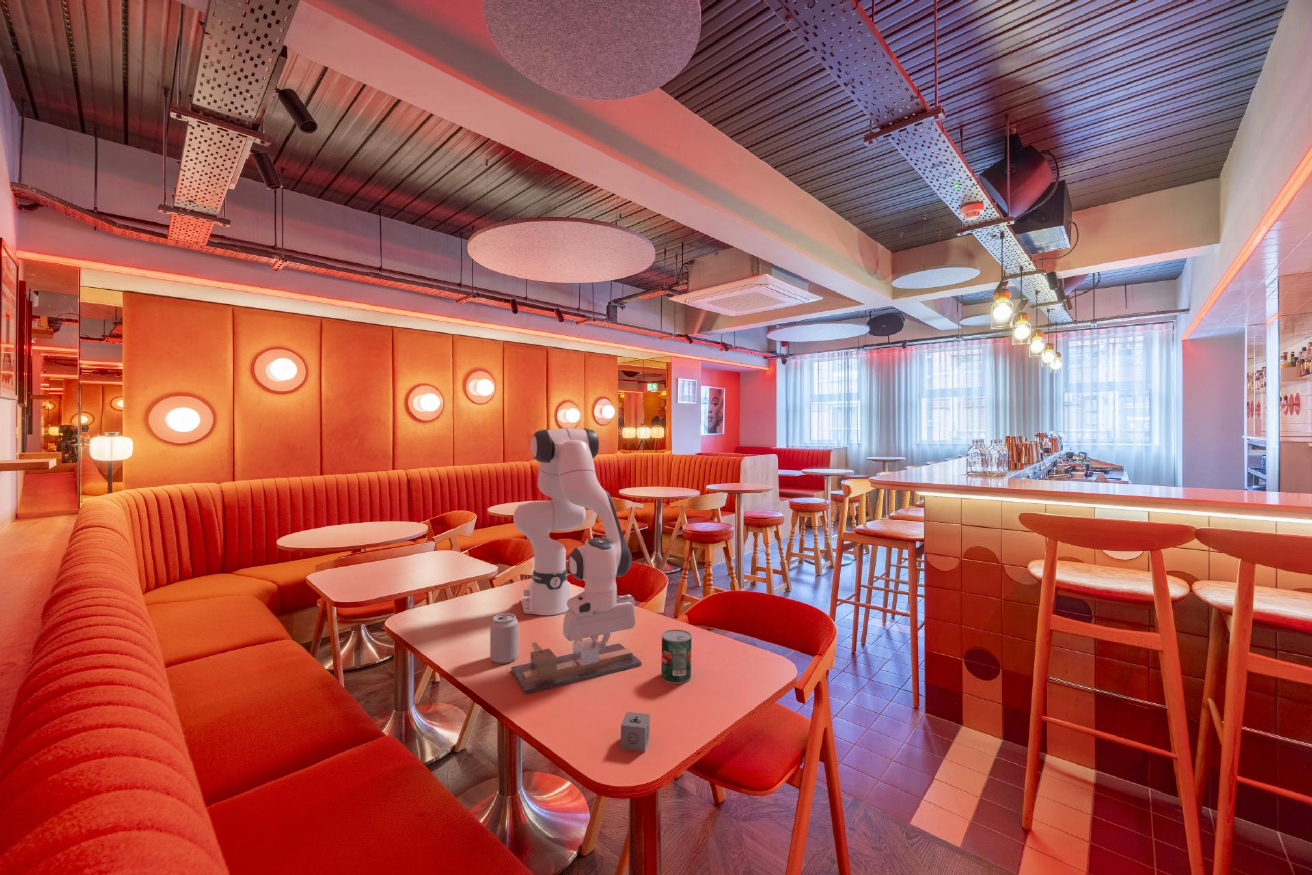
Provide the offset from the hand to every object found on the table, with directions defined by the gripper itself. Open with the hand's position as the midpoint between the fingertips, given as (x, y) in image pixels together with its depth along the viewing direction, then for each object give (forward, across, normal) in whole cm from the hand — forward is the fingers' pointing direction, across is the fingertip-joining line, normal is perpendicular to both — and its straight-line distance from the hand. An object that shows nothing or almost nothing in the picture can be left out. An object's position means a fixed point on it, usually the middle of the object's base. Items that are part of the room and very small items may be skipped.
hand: (600, 649), depth 140 cm
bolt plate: (+5, +6, -2) cm, 8 cm away
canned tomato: (+5, -15, +15) cm, 22 cm away
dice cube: (+5, +8, +35) cm, 36 cm away
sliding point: (+3, +4, -3) cm, 6 cm away
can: (+5, +22, -17) cm, 28 cm away
